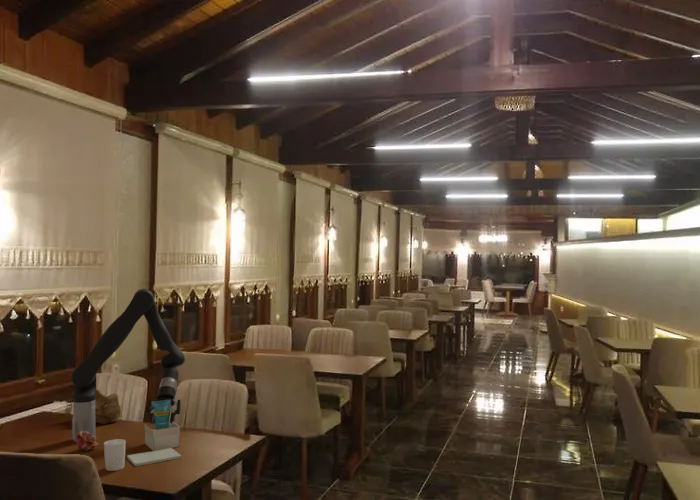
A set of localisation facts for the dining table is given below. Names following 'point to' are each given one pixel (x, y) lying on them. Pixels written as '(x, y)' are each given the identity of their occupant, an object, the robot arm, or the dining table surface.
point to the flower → (86, 440)
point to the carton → (163, 437)
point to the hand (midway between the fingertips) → (161, 422)
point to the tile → (153, 456)
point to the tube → (161, 414)
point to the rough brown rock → (106, 408)
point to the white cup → (114, 454)
